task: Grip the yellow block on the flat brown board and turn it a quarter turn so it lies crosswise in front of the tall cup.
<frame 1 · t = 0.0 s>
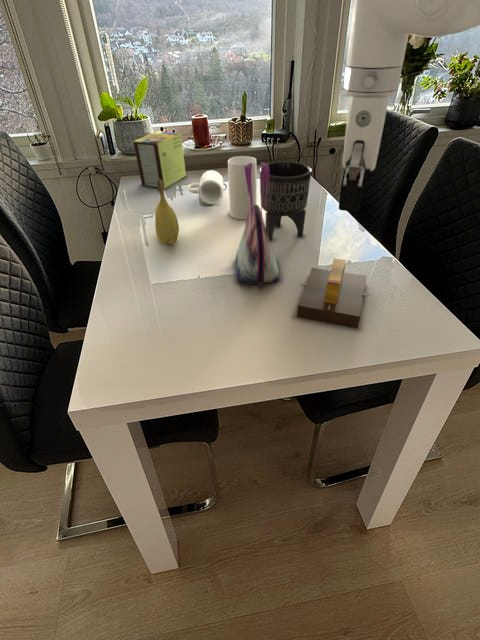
hand: (351, 199, 64), 23 cm above the table, tool pointing down, fingers open, 9 cm apart
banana: (168, 241, 104), on the table
yellow block: (335, 280, 76), point 5 cm above the table, hinge at 0.0°
planter: (282, 234, 105), on the table
handbag: (256, 272, 90), on the table
cup: (243, 214, 116), on the table
mug: (206, 199, 127), on the table
protein box: (164, 181, 142), on the table
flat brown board: (332, 301, 80), on the table
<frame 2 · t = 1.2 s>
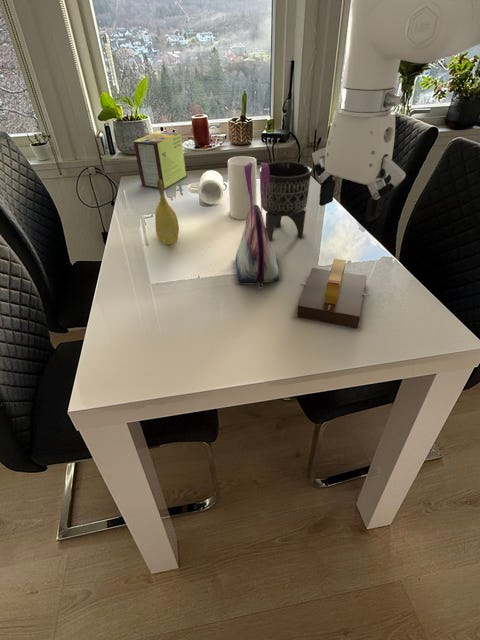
hand: (347, 211, 66), 21 cm above the table, tool pointing down, fingers open, 9 cm apart
nothing on the table moved.
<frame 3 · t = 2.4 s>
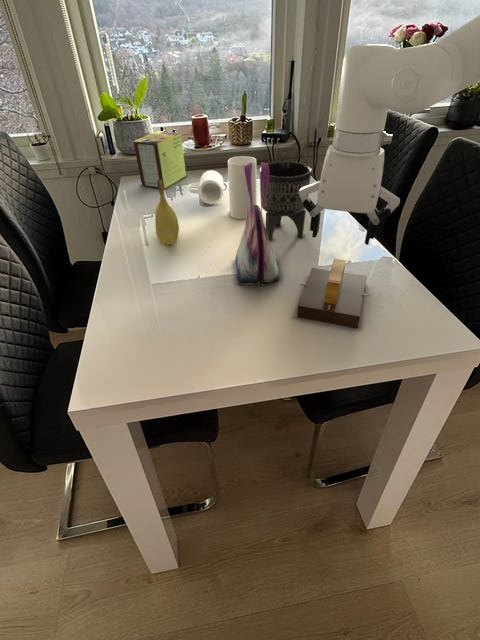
hand: (340, 237, 71), 15 cm above the table, tool pointing down, fingers open, 9 cm apart
nothing on the table moved.
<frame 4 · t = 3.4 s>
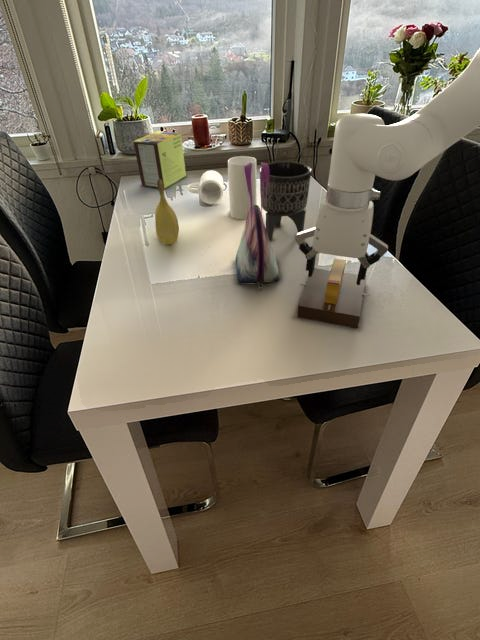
hand: (334, 277, 76), 6 cm above the table, tool pointing down, fingers open, 9 cm apart
nothing on the table moved.
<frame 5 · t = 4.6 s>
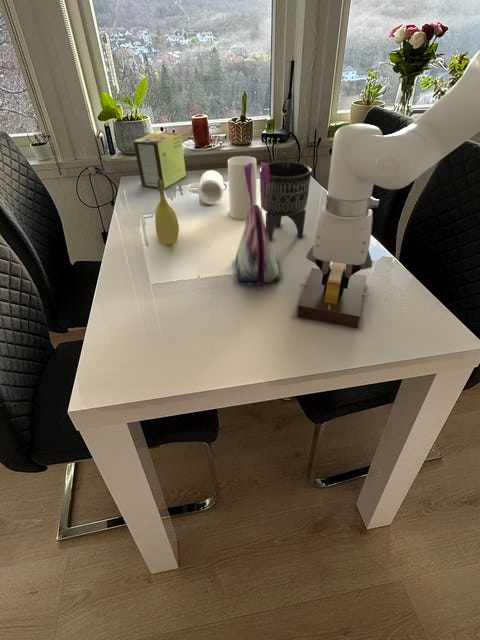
hand: (334, 288, 78), 3 cm above the table, tool pointing down, fingers closed on yellow block, 2 cm apart
yellow block: (335, 280, 76), point 5 cm above the table, hinge at 0.0°, touching gripper
everything else where it was.
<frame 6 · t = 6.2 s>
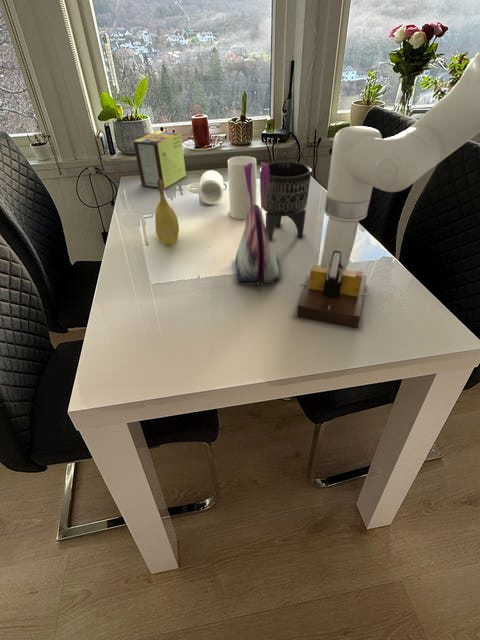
hand: (333, 288, 78), 3 cm above the table, tool pointing down, fingers open, 4 cm apart
yellow block: (335, 280, 76), point 5 cm above the table, hinge at 90.1°
everything else where it was.
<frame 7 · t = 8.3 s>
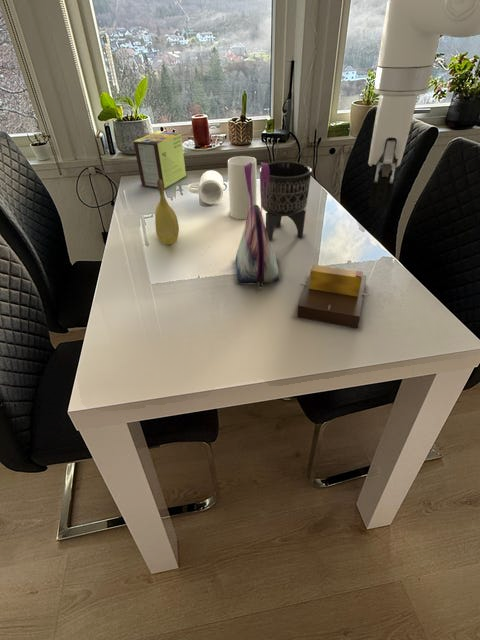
hand: (379, 196, 65), 23 cm above the table, tool pointing down, fingers open, 9 cm apart
nothing on the table moved.
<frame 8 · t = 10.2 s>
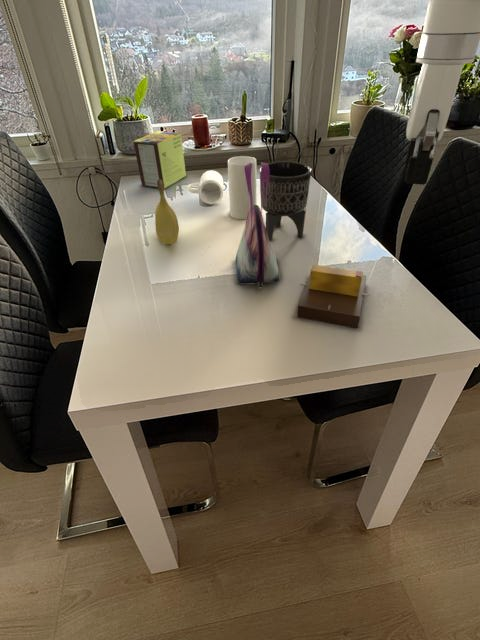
hand: (414, 173, 63), 26 cm above the table, tool pointing down, fingers open, 9 cm apart
nothing on the table moved.
at the end: yellow block at +90° (first picture: +0°); cup moved 0.2 cm from its start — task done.
